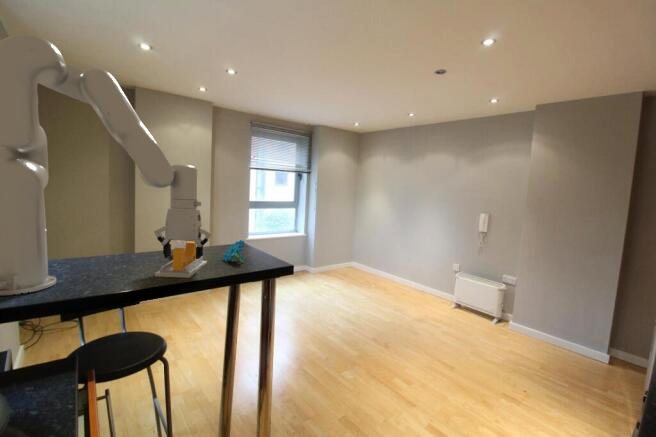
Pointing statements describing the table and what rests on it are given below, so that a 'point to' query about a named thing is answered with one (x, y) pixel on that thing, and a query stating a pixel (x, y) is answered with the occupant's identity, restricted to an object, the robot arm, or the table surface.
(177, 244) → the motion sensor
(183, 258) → the pipe clamp
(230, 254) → the blue lumpy piece
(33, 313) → the table surface
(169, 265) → the rail plate
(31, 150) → the robot arm
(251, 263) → the table surface
